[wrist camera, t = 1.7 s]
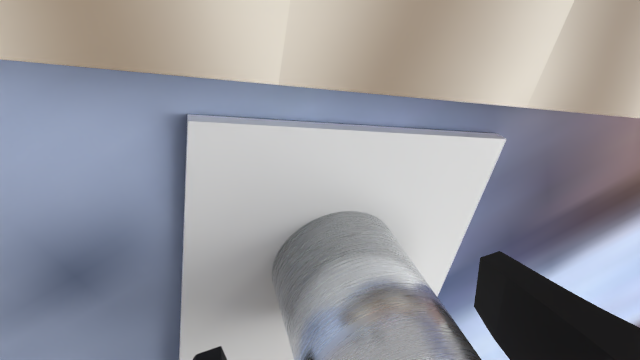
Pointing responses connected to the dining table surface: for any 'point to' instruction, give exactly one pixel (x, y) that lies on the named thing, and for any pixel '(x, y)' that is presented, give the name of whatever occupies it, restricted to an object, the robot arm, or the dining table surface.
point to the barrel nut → (359, 296)
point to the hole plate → (355, 46)
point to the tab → (309, 211)
